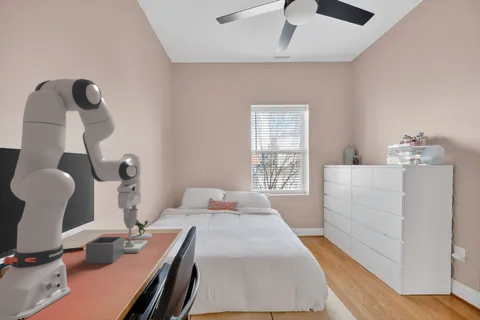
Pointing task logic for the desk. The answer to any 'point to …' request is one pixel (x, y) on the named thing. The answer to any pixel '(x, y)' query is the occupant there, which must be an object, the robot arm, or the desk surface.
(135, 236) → the monster figurine
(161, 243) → the desk surface
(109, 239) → the box
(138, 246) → the tray
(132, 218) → the chalice
